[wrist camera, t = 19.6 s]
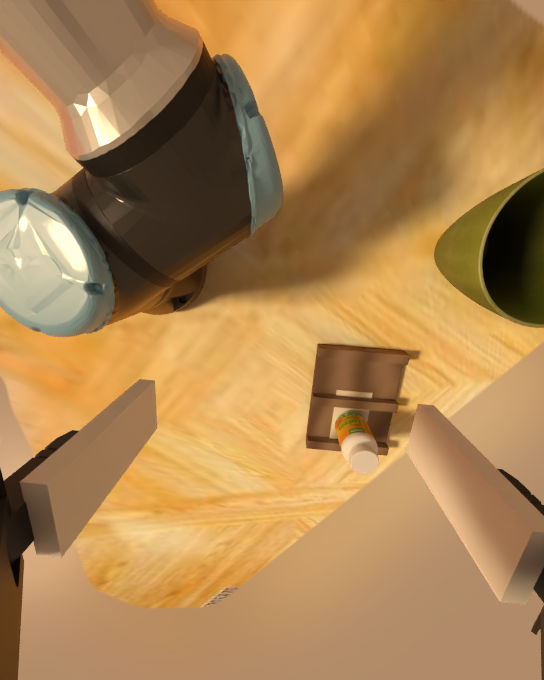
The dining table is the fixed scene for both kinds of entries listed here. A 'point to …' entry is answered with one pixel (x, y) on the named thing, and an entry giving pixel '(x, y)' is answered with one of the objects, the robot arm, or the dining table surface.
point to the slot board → (353, 392)
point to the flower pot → (500, 252)
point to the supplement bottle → (357, 442)
